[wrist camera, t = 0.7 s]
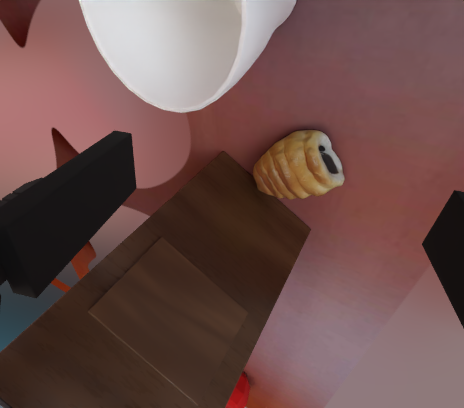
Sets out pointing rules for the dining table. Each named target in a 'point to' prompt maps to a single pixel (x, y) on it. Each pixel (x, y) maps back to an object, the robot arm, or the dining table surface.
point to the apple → (239, 393)
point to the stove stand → (164, 305)
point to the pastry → (299, 166)
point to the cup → (182, 45)
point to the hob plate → (4, 404)
